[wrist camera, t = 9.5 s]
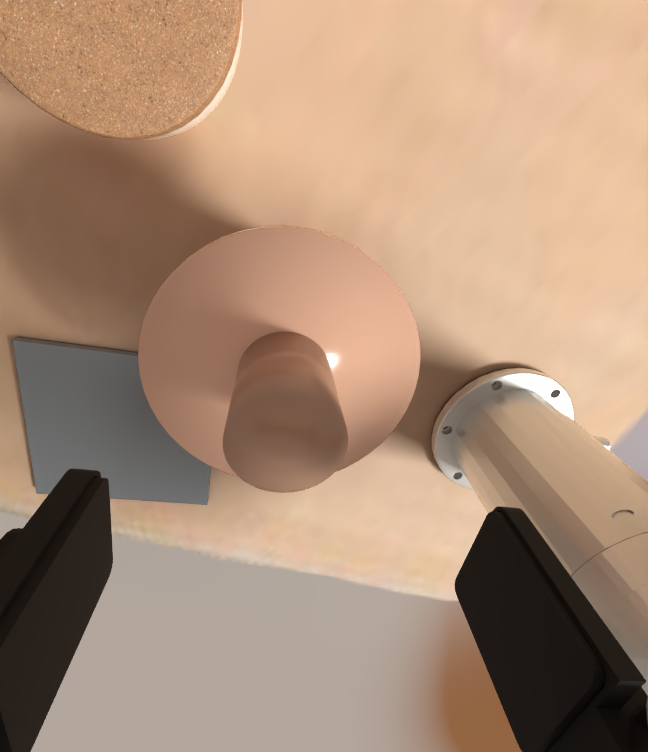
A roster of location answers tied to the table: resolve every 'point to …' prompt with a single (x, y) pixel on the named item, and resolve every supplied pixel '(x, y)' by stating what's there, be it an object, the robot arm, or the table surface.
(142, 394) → the mat
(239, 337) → the lid
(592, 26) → the table surface
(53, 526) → the robot arm
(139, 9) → the lidded jar
